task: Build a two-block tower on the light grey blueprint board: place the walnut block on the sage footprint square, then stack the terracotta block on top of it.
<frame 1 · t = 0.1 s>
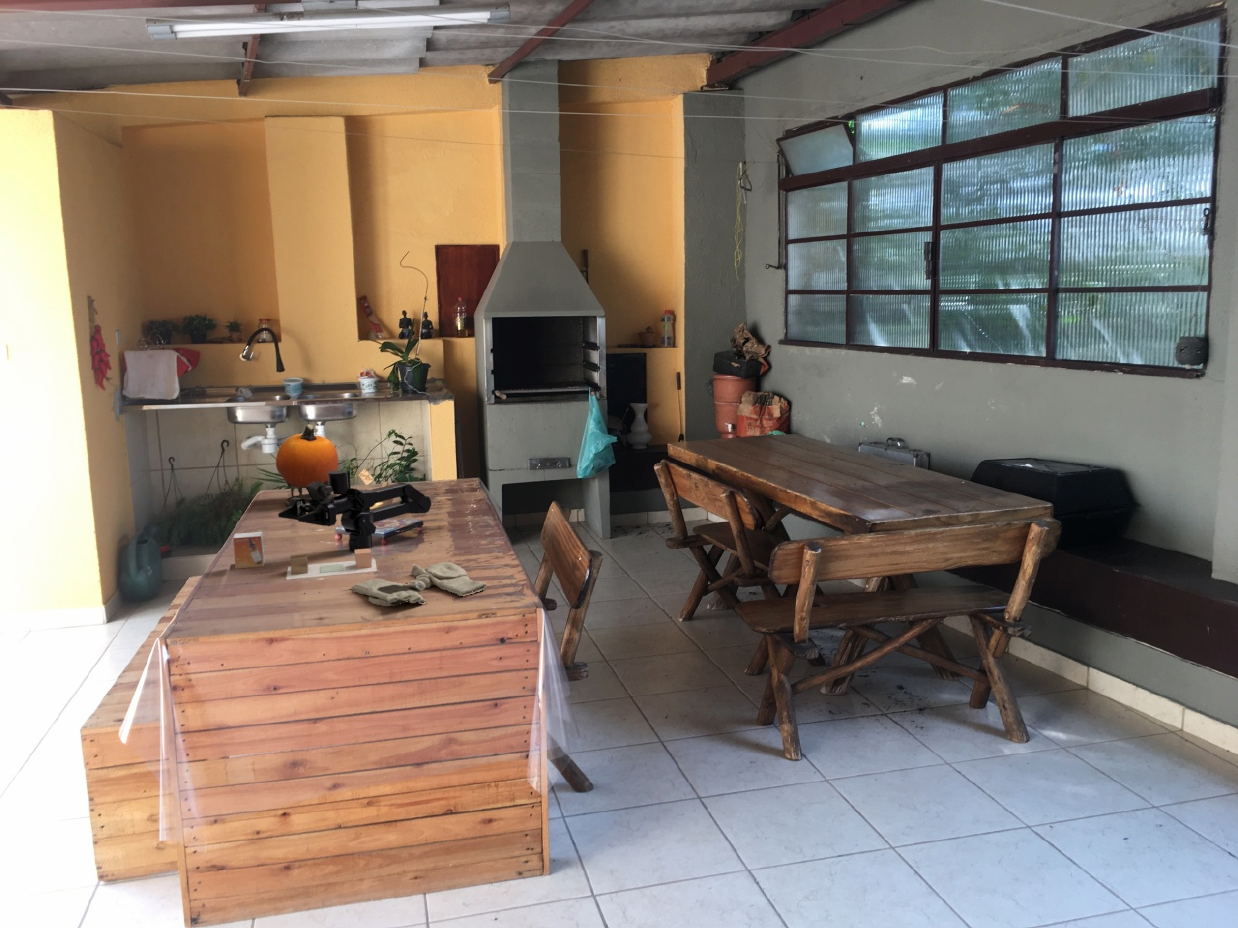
hand: (288, 517, 297), 17 cm above the table, tool horizontal, fingers open, 9 cm apart
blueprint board: (332, 572, 300), on the table
small box: (250, 569, 305), on the table
pumpkin: (310, 502, 389), on the table
walnut block: (299, 571, 297), point 1 cm above the table, touching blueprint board
terracotta block: (363, 565, 302), point 1 cm above the table, touching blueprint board
pair of gloves: (420, 592, 282), on the table
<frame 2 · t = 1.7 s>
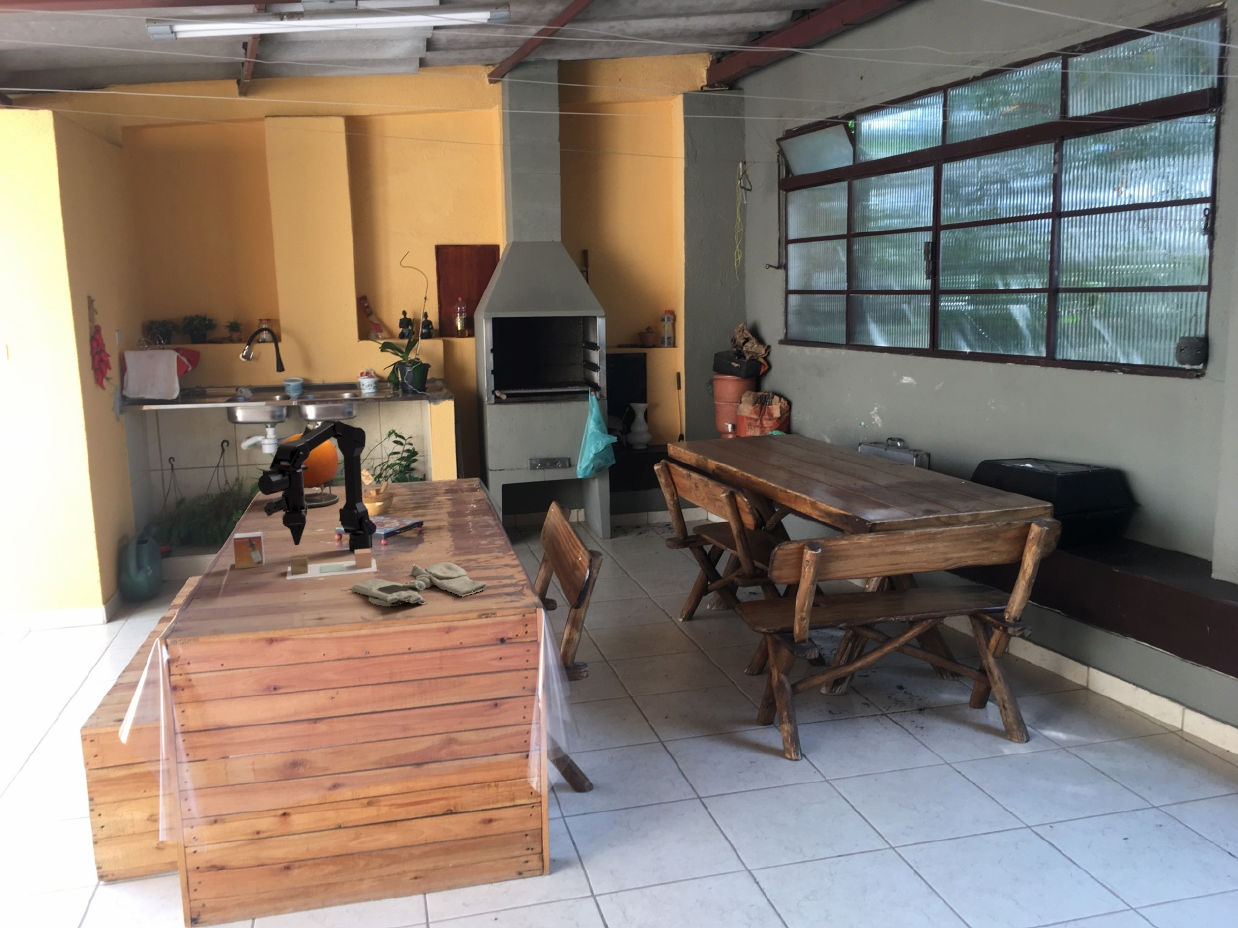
hand: (297, 540, 295), 10 cm above the table, tool pointing down, fingers open, 9 cm apart
nothing on the table moved.
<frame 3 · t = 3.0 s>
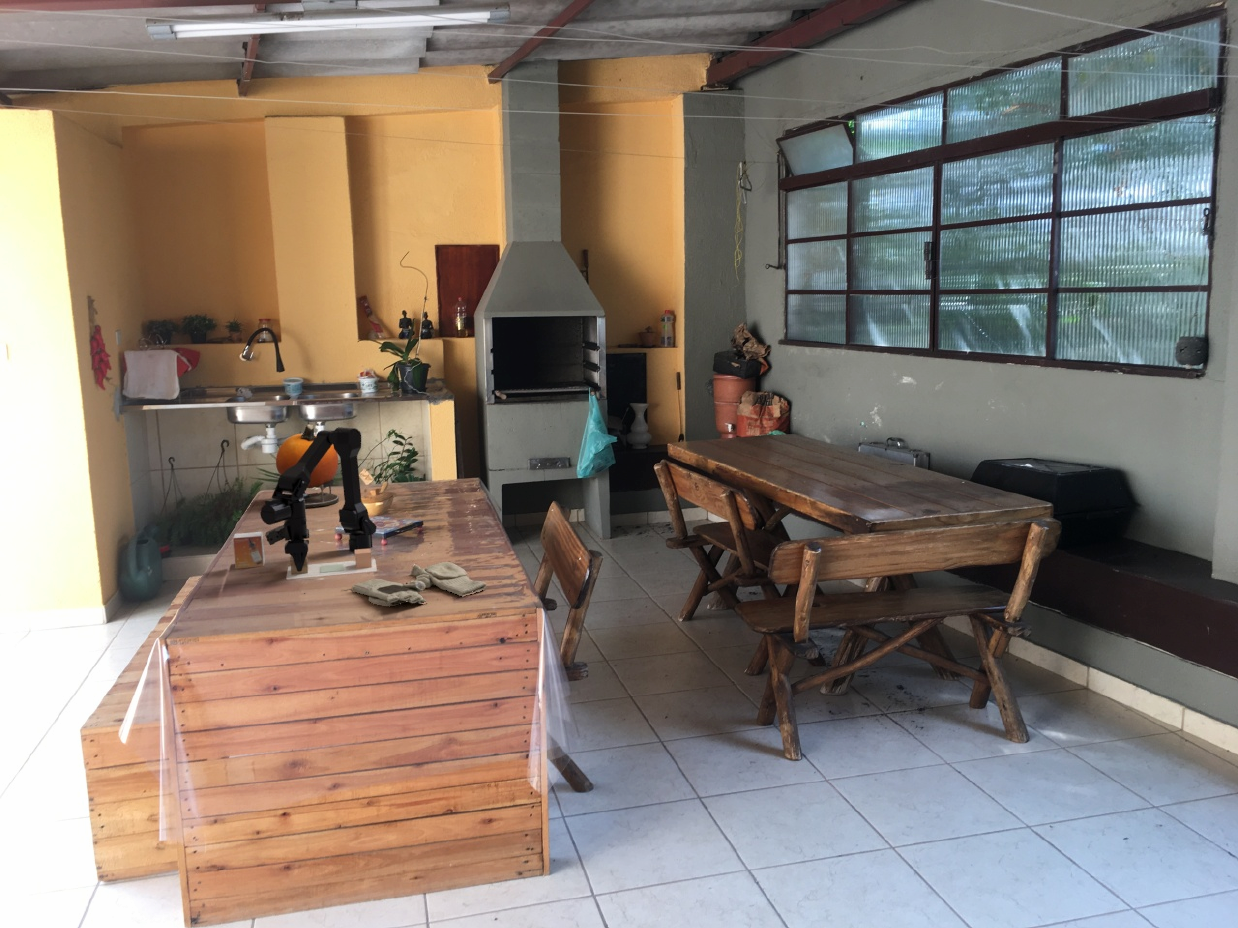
hand: (299, 568, 297), 2 cm above the table, tool pointing down, fingers closed on walnut block, 4 cm apart
walnut block: (299, 571, 297), point 1 cm above the table, touching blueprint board, gripper
everything else where it was.
when the fingers open (3 cm above the table, at t = 6.6 s): walnut block drops 1 cm, resting on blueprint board.
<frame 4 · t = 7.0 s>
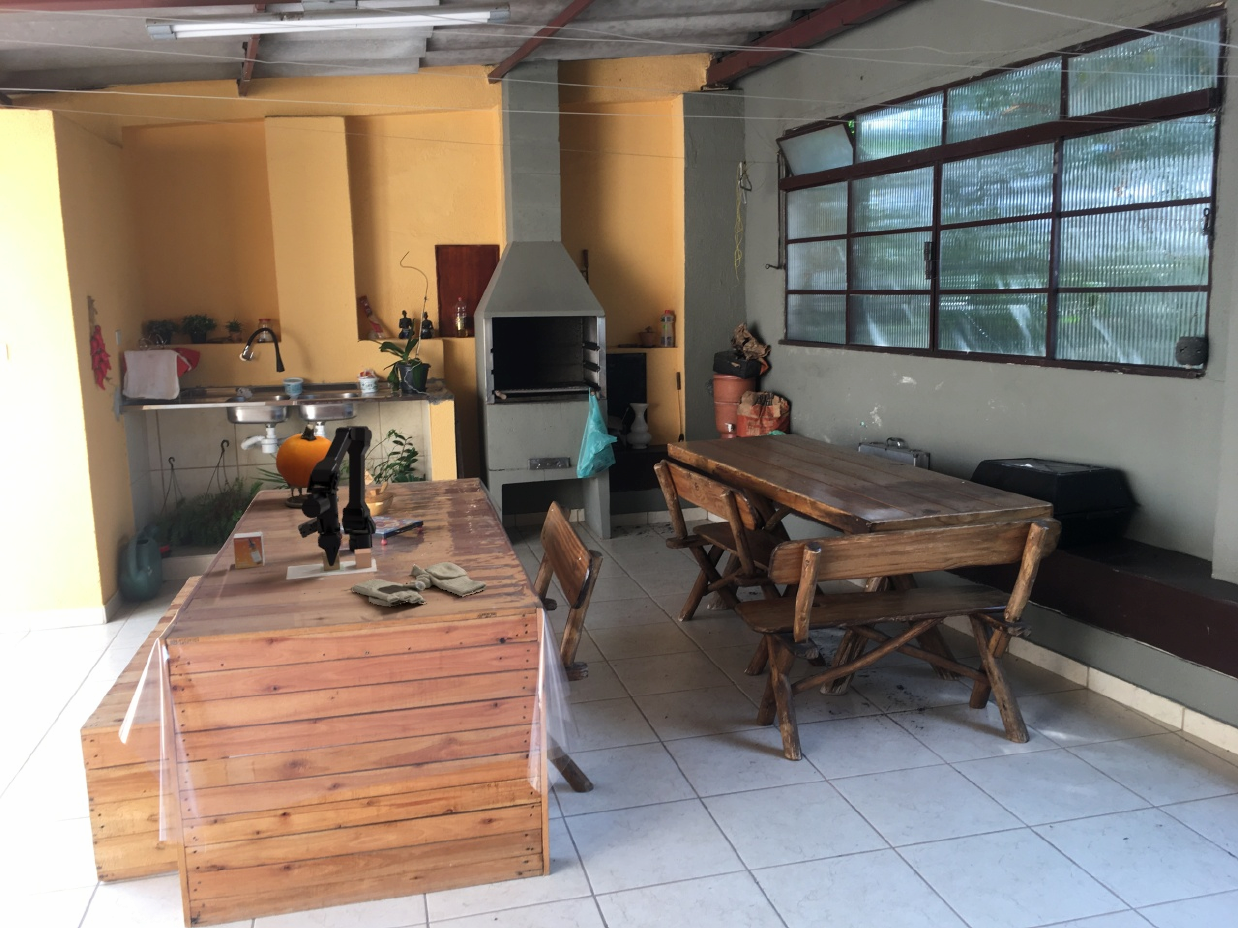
hand: (331, 561, 299), 3 cm above the table, tool pointing down, fingers open, 8 cm apart
walnut block: (332, 568, 299), point 1 cm above the table, touching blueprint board
everything else where it was.
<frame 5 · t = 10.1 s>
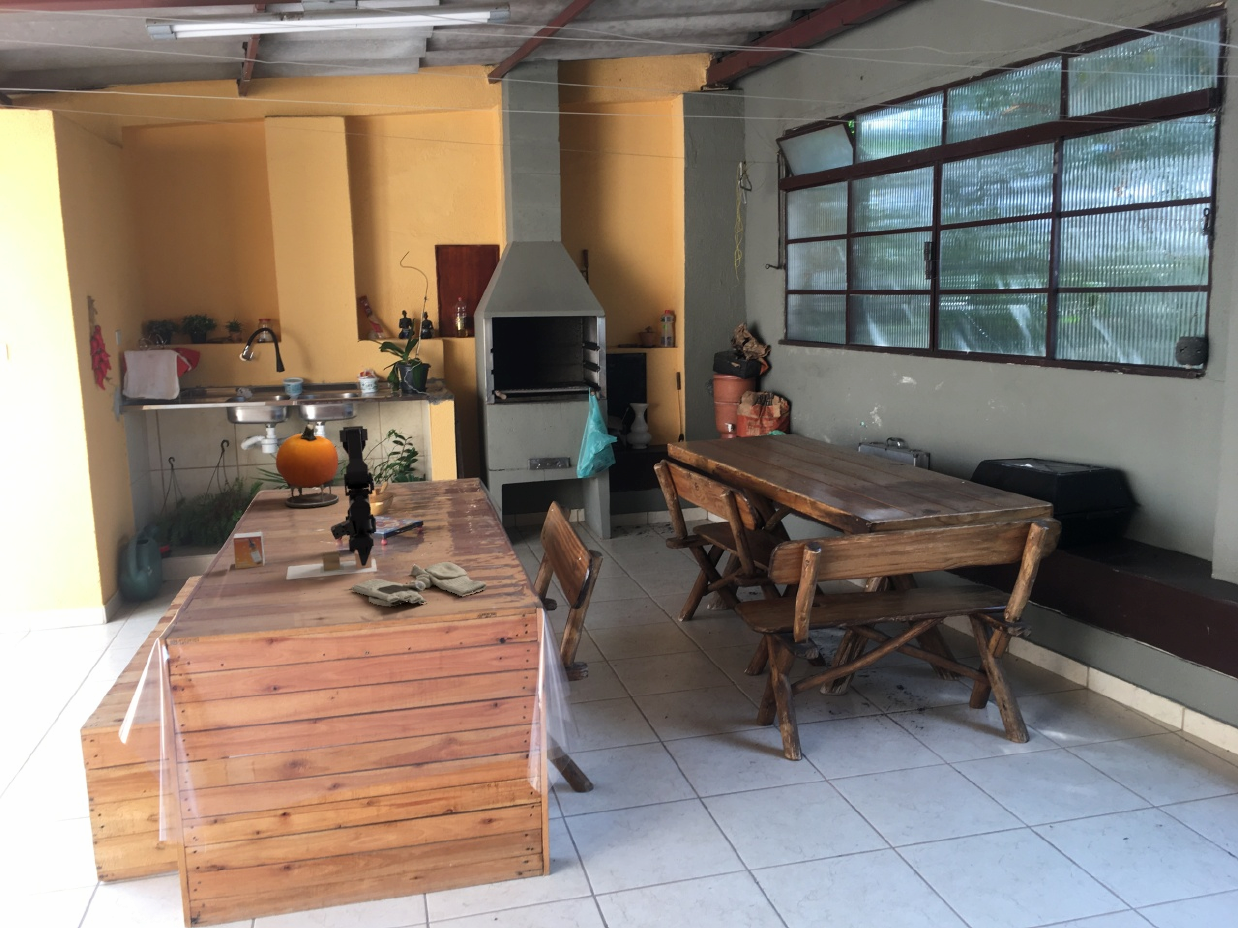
hand: (363, 563, 302), 2 cm above the table, tool pointing down, fingers closed on terracotta block, 4 cm apart
terracotta block: (363, 565, 302), point 1 cm above the table, touching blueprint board, gripper
everything else where it was.
when the fingers open (8 cm above the table, at t = 13.6 s): terracotta block drops 1 cm, resting on walnut block.
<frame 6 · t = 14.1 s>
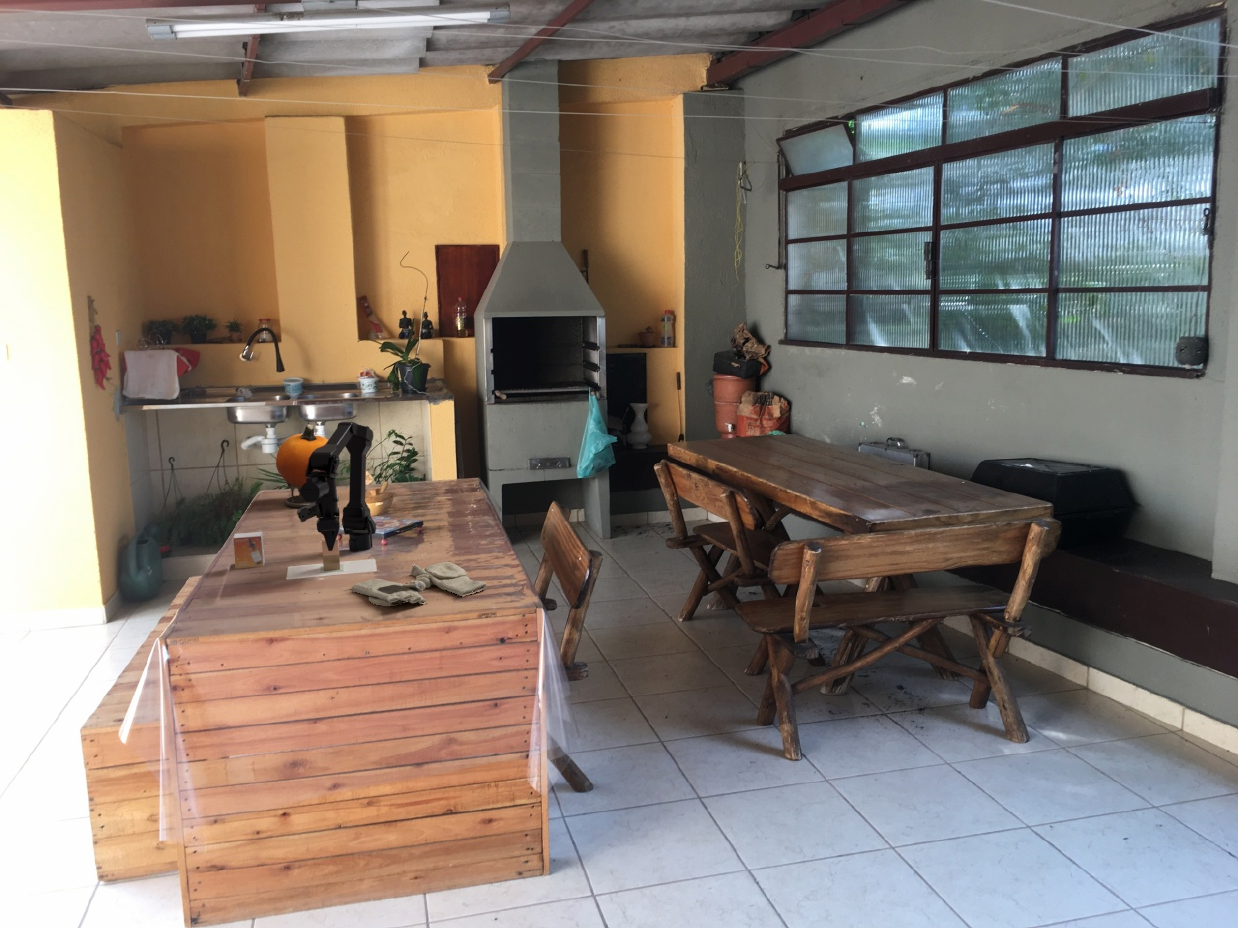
hand: (330, 546, 298), 8 cm above the table, tool pointing down, fingers open, 9 cm apart
walnut block: (332, 568, 299), point 1 cm above the table, touching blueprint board, terracotta block
terracotta block: (331, 553, 299), point 6 cm above the table, touching walnut block
everything else where it was.
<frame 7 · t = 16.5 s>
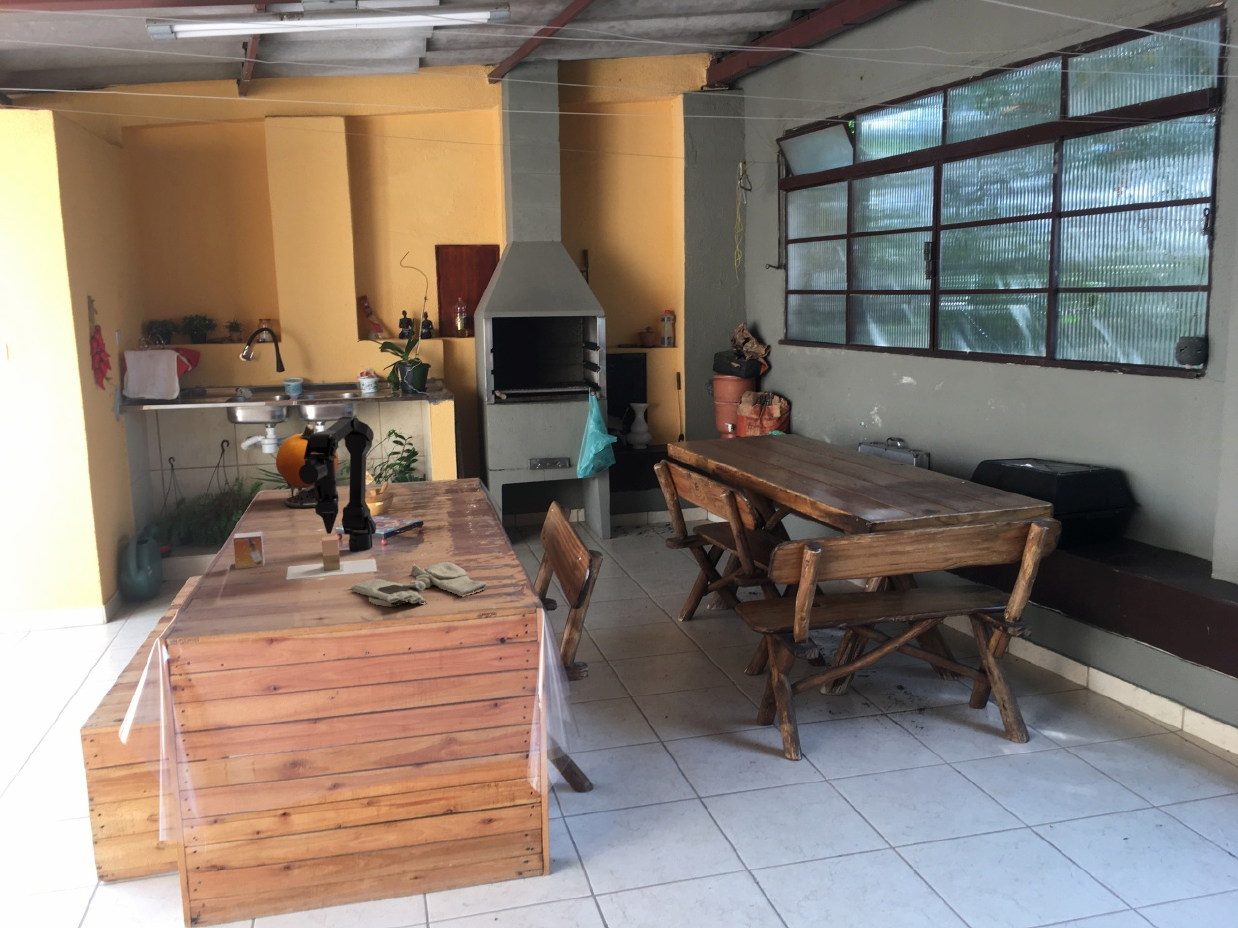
hand: (329, 529, 297), 13 cm above the table, tool pointing down, fingers open, 9 cm apart
nothing on the table moved.
at the end: walnut block 0.0 cm off-centre on the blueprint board, point 1.4 cm above the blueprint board's base; terracotta block 0.1 cm off-centre on the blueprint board, point 5.9 cm above the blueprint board's base; terracotta block tilted 0° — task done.
